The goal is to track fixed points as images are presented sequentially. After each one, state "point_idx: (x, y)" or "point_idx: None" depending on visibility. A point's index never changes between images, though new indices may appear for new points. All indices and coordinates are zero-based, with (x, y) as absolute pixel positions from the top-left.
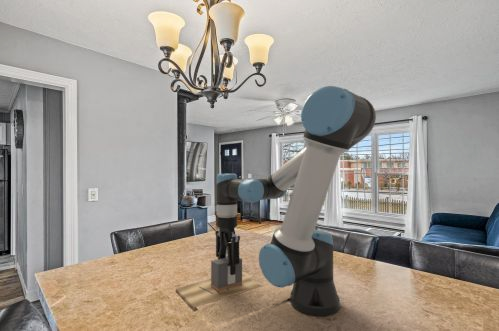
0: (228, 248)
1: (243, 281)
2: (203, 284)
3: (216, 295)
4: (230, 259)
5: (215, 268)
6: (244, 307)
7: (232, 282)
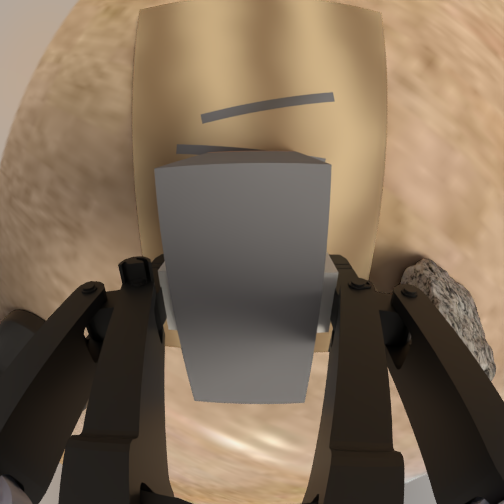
0: (93, 401)
1: None
2: (345, 130)
3: (174, 125)
4: (115, 311)
5: (227, 159)
6: (66, 198)
7: None
